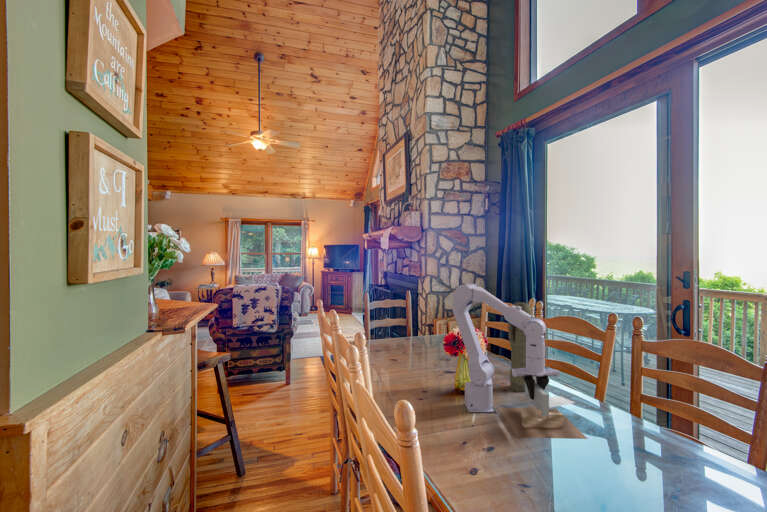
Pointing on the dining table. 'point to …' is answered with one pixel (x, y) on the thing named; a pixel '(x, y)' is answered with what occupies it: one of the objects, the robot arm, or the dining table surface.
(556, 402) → the hard drive
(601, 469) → the dining table surface
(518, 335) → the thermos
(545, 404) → the long gray bar
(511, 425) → the base
